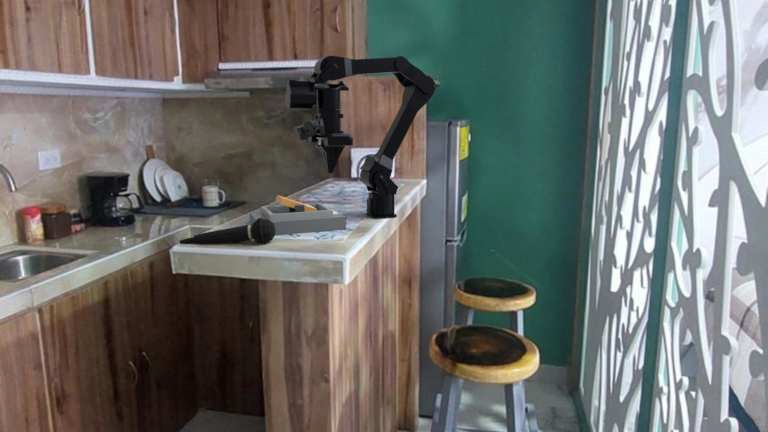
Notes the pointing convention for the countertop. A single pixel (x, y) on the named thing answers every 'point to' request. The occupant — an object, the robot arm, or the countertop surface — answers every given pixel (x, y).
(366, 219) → the countertop surface
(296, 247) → the countertop surface
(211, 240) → the microphone
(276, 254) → the countertop surface
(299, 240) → the countertop surface
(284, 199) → the plate
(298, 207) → the switch panel
